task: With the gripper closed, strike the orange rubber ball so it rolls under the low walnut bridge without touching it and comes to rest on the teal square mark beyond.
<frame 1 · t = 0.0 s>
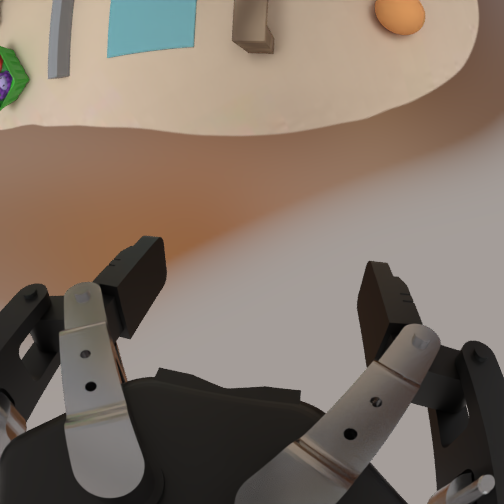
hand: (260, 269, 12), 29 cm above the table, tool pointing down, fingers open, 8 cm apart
stopper wall: (66, 30, 32), on the table
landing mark: (150, 8, 30), on the table
fruit basket: (13, 76, 36), on the table
ball: (400, 11, 24), on the table
bridge: (263, 0, 28), on the table
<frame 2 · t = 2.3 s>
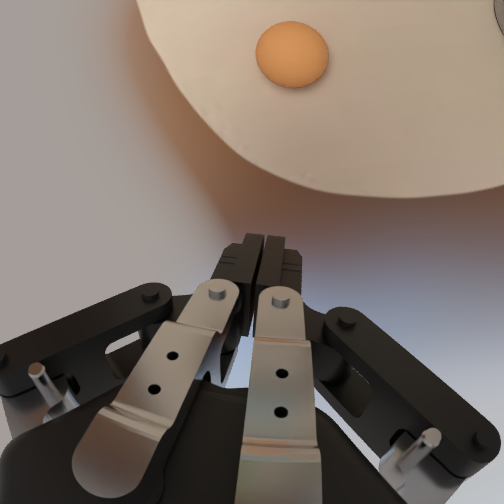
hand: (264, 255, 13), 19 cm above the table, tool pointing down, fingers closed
ball: (292, 54, 22), on the table
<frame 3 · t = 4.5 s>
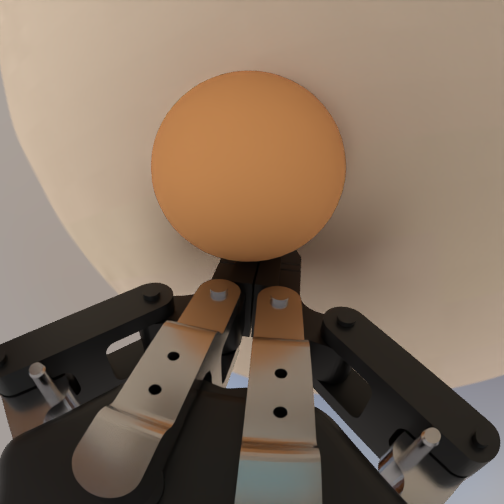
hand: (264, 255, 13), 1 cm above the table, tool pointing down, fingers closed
ball: (248, 165, 10), on the table
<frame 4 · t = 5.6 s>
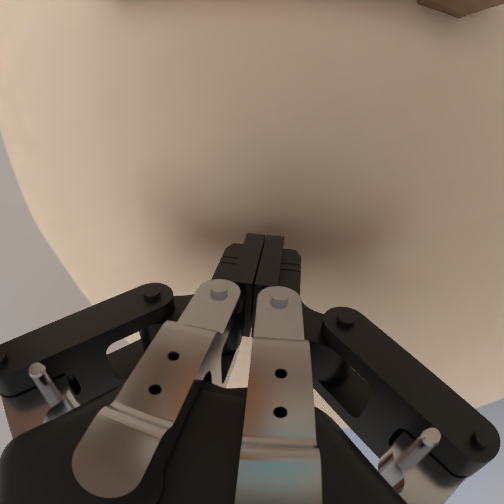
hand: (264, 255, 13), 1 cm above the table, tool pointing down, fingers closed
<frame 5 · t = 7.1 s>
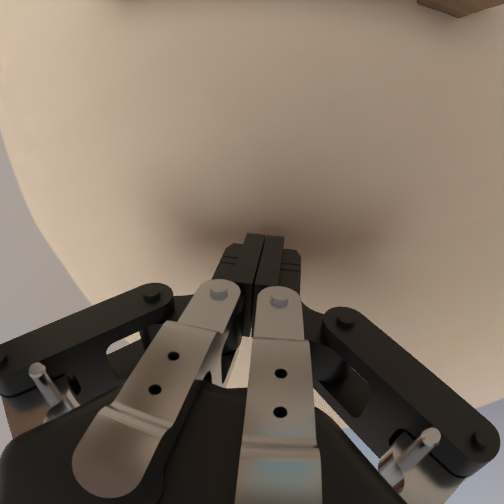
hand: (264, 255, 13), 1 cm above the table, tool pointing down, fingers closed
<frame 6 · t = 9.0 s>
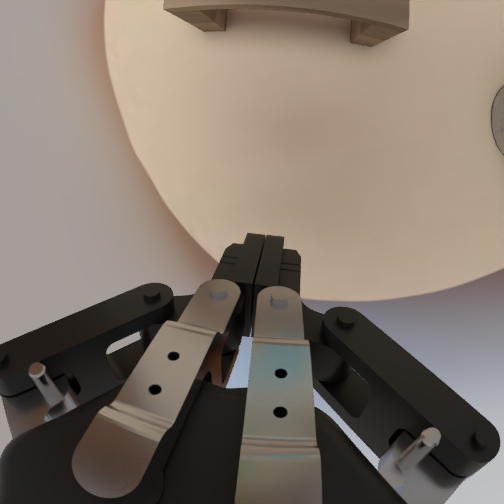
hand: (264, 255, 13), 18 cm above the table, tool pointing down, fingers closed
bridge: (288, 19, 21), on the table
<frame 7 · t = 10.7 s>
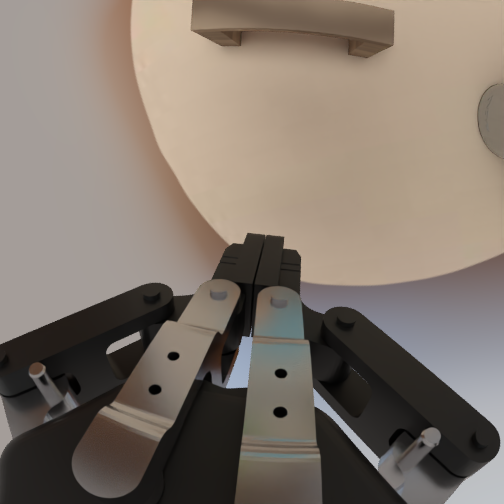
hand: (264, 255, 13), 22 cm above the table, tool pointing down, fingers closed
bridge: (295, 34, 26), on the table
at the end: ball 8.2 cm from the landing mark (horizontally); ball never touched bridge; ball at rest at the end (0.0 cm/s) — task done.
